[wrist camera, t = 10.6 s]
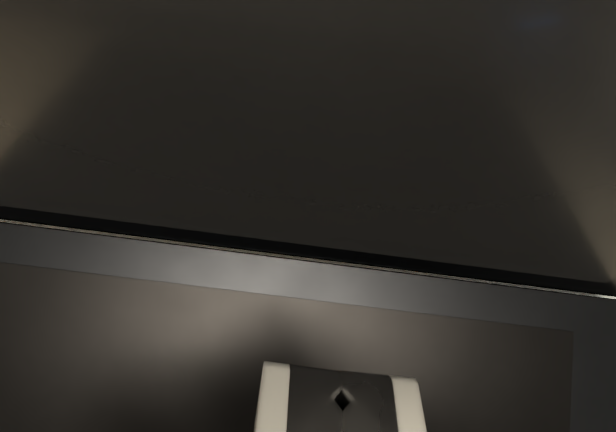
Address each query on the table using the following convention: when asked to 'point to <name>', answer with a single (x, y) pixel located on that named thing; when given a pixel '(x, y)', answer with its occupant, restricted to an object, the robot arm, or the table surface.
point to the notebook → (279, 338)
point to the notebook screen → (323, 129)
